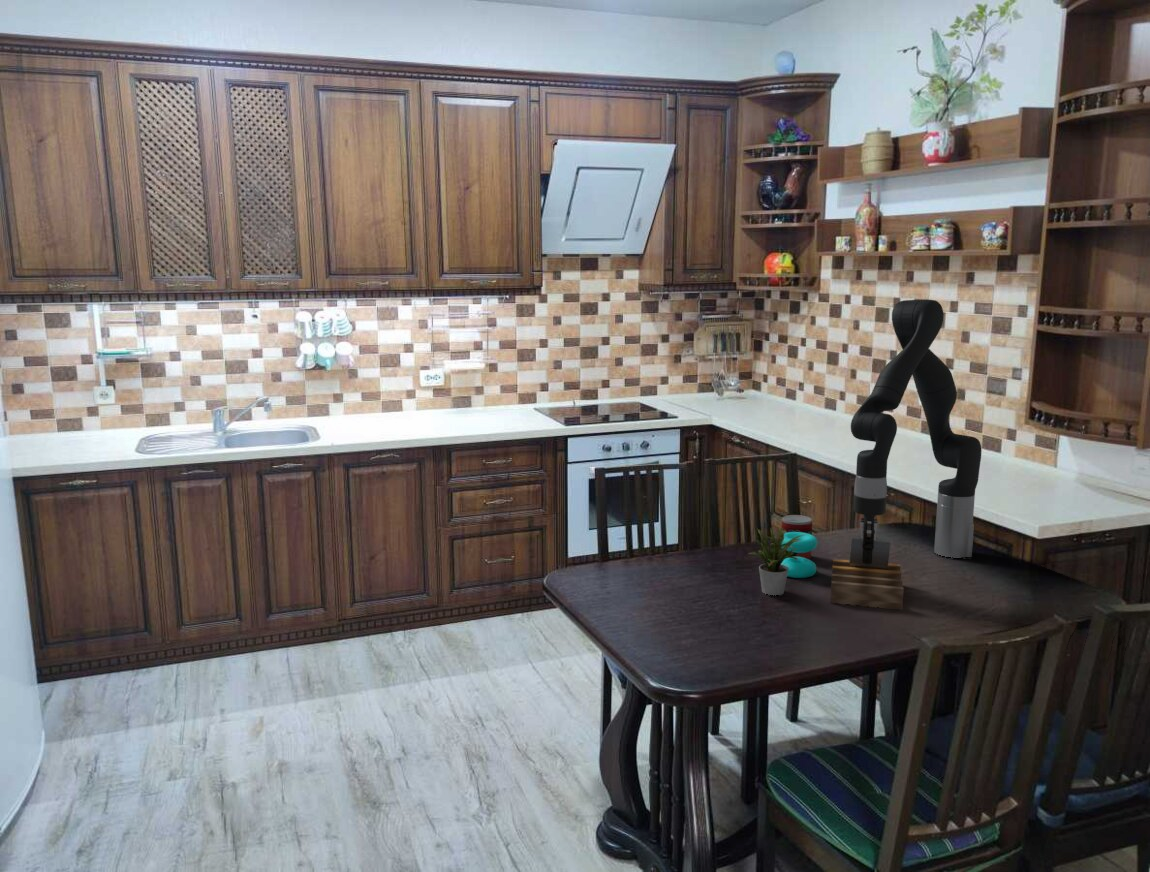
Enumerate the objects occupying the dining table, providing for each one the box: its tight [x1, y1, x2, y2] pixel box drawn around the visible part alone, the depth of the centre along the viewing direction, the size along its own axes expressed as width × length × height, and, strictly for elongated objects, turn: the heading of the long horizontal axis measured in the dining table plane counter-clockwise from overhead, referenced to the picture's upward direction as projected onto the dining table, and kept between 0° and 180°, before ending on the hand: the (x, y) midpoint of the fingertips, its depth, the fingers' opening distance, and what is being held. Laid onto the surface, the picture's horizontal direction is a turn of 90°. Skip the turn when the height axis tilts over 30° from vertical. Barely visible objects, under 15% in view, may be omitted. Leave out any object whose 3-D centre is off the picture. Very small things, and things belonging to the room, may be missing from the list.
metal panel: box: [848, 535, 891, 570], centre depth 224 cm, size 9×2×10 cm, turn 73°
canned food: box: [780, 514, 813, 560], centre depth 247 cm, size 8×8×11 cm
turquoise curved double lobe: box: [780, 532, 819, 579], centre depth 235 cm, size 10×10×10 cm
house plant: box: [748, 527, 804, 597], centre depth 220 cm, size 14×14×16 cm
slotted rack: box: [830, 558, 905, 611], centre depth 220 cm, size 16×17×5 cm
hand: (866, 561), depth 224 cm, fingers closed on metal panel, 2 cm apart
